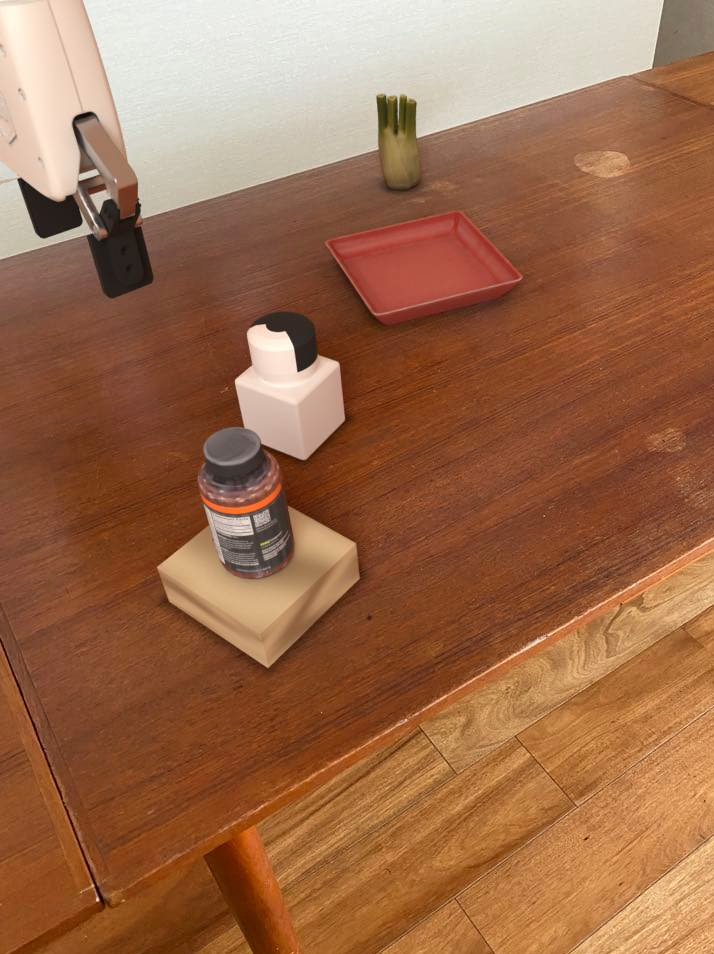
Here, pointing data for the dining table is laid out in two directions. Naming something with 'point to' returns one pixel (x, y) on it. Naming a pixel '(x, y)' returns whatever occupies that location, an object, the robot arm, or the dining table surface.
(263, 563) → the supplement bottle
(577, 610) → the dining table surface
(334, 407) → the medicine bottle
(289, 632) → the block
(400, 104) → the fennel bulb
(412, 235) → the plant saucer
